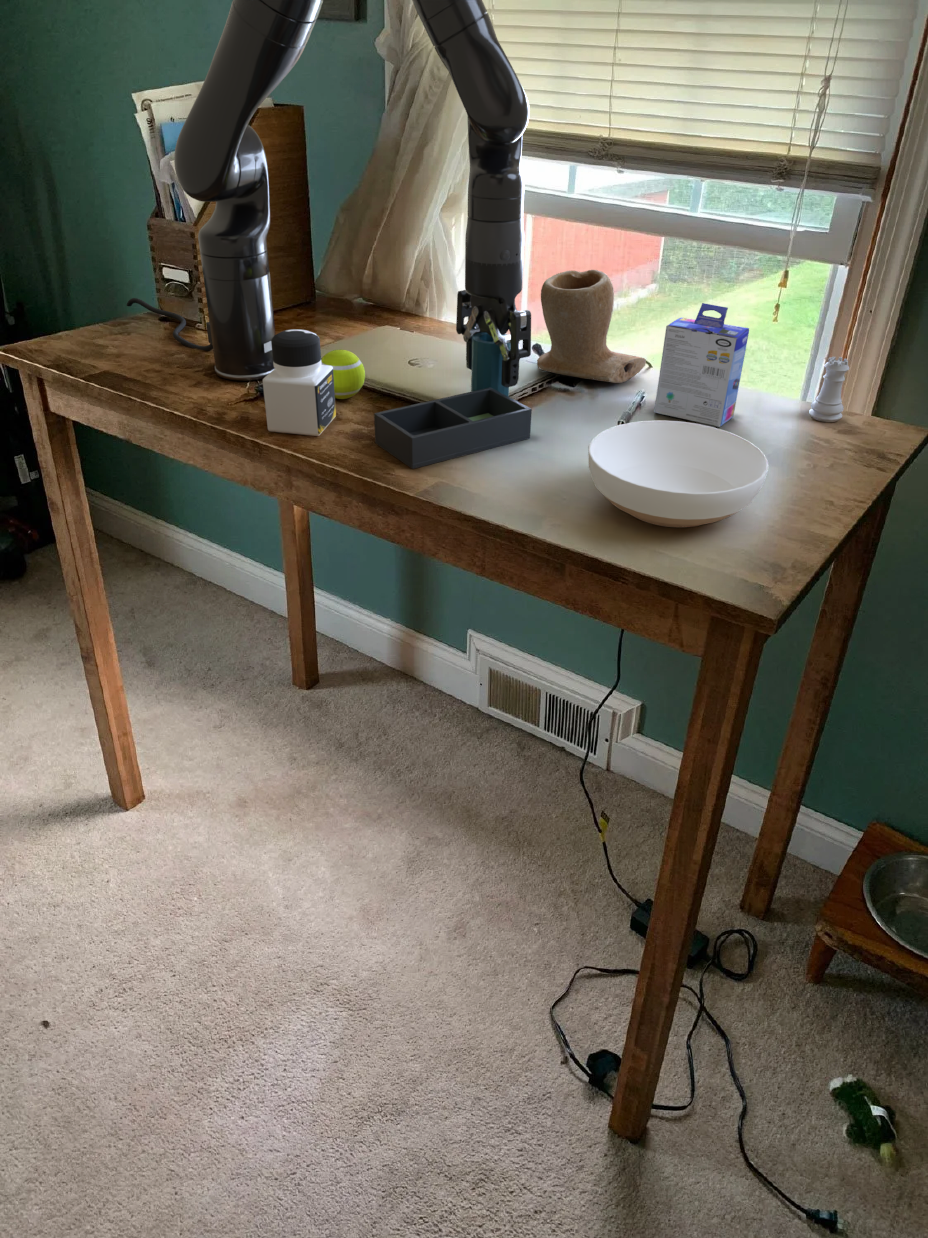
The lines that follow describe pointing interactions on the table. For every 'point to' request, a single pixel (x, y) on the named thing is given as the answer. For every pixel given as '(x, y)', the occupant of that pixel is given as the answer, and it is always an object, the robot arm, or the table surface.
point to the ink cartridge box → (701, 368)
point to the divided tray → (452, 427)
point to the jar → (487, 364)
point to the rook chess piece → (830, 392)
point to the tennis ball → (345, 372)
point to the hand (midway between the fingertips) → (491, 376)
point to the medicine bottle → (298, 385)
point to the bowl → (676, 471)
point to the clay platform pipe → (583, 328)
